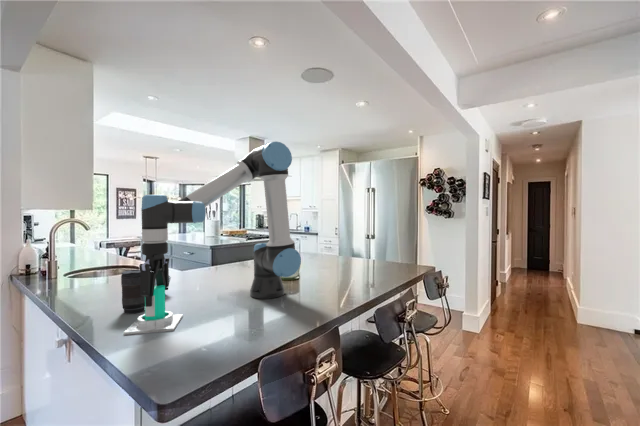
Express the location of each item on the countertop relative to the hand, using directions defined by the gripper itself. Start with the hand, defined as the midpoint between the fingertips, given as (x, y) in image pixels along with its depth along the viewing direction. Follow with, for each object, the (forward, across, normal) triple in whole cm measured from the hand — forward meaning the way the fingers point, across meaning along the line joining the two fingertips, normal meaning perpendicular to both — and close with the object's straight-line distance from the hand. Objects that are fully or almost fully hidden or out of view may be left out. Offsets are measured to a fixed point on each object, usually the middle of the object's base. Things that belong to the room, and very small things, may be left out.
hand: (155, 312), depth 103 cm
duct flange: (+4, 0, 0) cm, 4 cm away
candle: (+2, 0, 0) cm, 2 cm away
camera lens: (+4, -14, -16) cm, 22 cm away
